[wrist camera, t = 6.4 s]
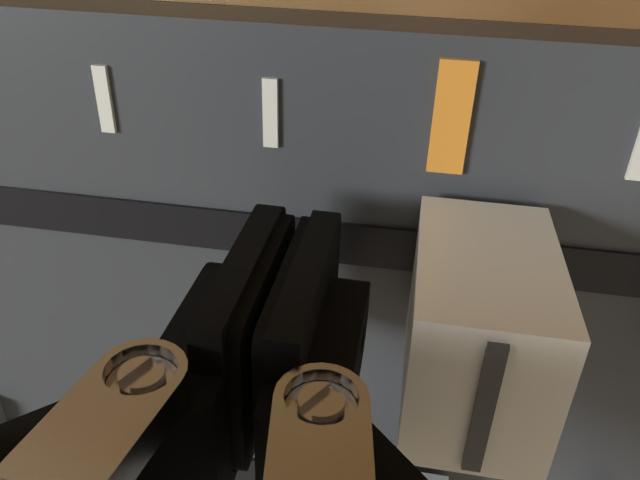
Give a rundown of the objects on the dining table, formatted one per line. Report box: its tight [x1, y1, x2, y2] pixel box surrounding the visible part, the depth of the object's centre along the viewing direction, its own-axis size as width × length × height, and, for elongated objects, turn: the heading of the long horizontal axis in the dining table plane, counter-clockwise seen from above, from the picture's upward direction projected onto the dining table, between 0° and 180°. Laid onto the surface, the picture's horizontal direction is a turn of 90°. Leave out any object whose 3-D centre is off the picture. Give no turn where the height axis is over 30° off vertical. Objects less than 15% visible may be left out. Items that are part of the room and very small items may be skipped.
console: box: [0, 0, 640, 480], centre depth 16 cm, size 16×20×2 cm
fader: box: [397, 196, 591, 480], centre depth 11 cm, size 3×2×4 cm
